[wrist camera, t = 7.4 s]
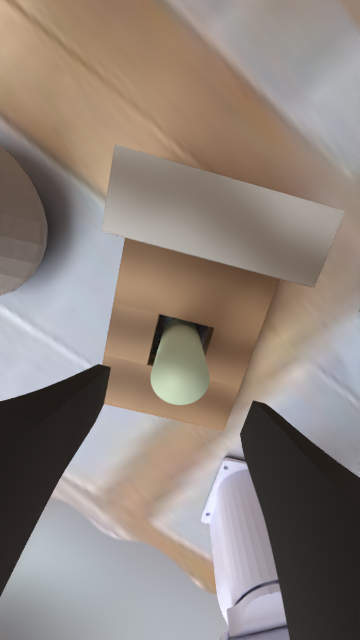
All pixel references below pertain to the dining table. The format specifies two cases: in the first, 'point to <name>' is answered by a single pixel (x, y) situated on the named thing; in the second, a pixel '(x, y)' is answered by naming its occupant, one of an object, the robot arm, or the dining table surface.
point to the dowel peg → (180, 364)
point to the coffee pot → (19, 225)
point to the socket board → (200, 272)
